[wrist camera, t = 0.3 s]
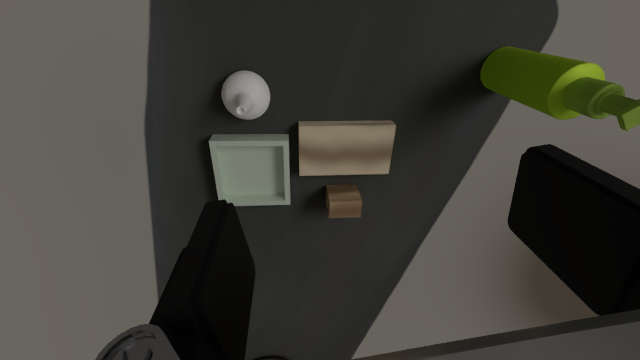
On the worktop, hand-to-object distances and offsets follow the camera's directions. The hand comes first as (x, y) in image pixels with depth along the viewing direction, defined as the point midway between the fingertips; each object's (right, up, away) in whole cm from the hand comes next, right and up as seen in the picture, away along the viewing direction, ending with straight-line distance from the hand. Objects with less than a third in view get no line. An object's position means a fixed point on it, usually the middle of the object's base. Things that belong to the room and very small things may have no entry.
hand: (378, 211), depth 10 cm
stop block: (+2, -1, +41) cm, 41 cm away
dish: (-12, +3, +37) cm, 39 cm away
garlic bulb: (-12, +13, +32) cm, 36 cm away
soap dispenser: (+24, +17, +33) cm, 44 cm away
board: (+2, +7, +37) cm, 38 cm away
